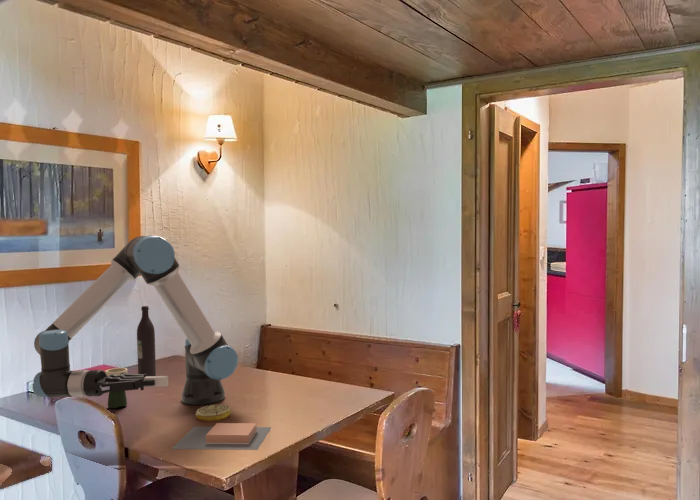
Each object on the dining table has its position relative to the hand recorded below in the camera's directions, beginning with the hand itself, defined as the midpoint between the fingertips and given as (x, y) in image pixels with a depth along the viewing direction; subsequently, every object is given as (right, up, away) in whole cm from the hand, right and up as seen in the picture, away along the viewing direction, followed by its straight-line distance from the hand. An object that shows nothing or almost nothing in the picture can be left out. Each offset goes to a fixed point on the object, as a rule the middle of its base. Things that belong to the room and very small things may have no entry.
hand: (167, 381), depth 166 cm
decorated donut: (+9, -17, +20) cm, 27 cm away
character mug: (-28, -17, +34) cm, 47 cm away
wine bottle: (-32, -16, +75) cm, 83 cm away
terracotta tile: (+13, -15, 0) cm, 20 cm away
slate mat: (+16, -17, 0) cm, 24 cm away
